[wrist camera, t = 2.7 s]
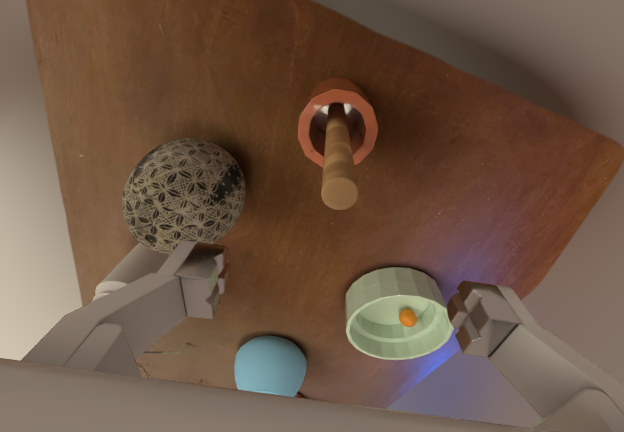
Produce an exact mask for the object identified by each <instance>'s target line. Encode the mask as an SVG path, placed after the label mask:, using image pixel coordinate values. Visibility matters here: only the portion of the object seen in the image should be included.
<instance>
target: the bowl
mask: <svg viewBox="0 0 624 432" xmlns="http://www.w3.org/2000/svg"><path fill="white" fill-rule="evenodd" d="M447 307H448V306H447V304H446V301H445V299H444V297H443V294H442V292H441V290H440V288H439V286H438V285H437V283H436V281H435V280H433V279H432V278H431V277H429V276H428V275H426V274H425V273H423V272H420V271H417V270H414V269H411V268H400V267H391V268H385V269H378V270H375V271H373V272H370V273H368V274H365V275H363V276H362V277H360V278H359V279H358V280H357V281H355V282H354V283H353V284H352V285H351V287H350V288H349V290H348V291H347V293H346V298H345V322H346V333H347V336H348V339H349V341H350V342H351V343H352V345H353V346H354V347H355V348H356V349H358V350H359V351H361V352H363V353H365V354H367V355H369V356H373V357H377V358H380V359H389V360H403V359H413V358H416V357H420V356H423V355H426V354H429V353H431V352H433V351H435V350H436V349H438V348H440V347H441V346H442V345H443V344H444V343H445V342H447V341H448V339H449V338H450V336H451V334H452V332H453V325H452V324H451V323H450V321H449V318H448V313H447ZM403 309H411V310H412V311H414V312H415V314H416V316H417V322H416V324H415V325H414V326H412V327H405V326H404V325H402V324H401V323H400V321H399V313H400V312H401V311H402V310H403Z"/></svg>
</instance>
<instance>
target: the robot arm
mask: <svg viewBox="0 0 624 432" xmlns="http://www.w3.org/2000/svg"><path fill="white" fill-rule="evenodd" d="M228 258H229V248H228V247H226V246H220V245H214V244H208V243H202V242H194V241H188V240H183V241H181V242H180V243H179V244H178V245H177V247H176V248H175V249H174V251H173V252H172V253H171V255H170V256H169V257H168V259H167V260H166V261H165V263H164V264H163V265H162V266H161V268H160V269H159V270H158V272H157V273H150V274H148V275H146V276H144V277H142V278H140V279H138V280H136V281H134V282H132V283H130V284H128V285H126V286H124V287H122V288H120V289H118V290H116V291H114V292H112V293H109V294H107V295H105V296H103V297H101V298H99V299H97V300H95V301H93V302H91V303H89V304H87V305H85V306H83V307H81V308H79V309H77V310H75V311H73V312H71V313H69V314H67V315H65V316H64V317H63V318H62V319H61V320H60V321H59V322H58V323H57V324H56V325H55V326H54V327H53V328H52V329H51V330H50V331H49V332H48V333H47V334H46V335H45V337H43V338H42V339H41V340H40V342H38V344H37V345H36V346H35V347H34V348H33V349H32V350H31V351H30V352H29V353H28V354H27V355H26V356H25V357H24V358H23V359H22V360H21V361H18V360H11V359H2V358H0V432H624V385H623V384H622V383H621V382H620V381H618V380H617V379H615V378H614V377H612V376H611V375H610V374H608V373H607V372H606V371H604V370H603V369H601V368H600V367H599V366H597V365H596V364H594V363H593V362H592V361H590V360H589V359H587V358H586V357H585V356H583V355H582V354H581V353H579V352H578V351H576V350H575V349H574V348H572V347H571V346H569V345H568V344H567V343H565V342H564V341H562V340H561V339H560V338H558V337H557V336H556V335H554V334H553V333H551V332H550V331H548V330H547V329H546V328H542V327H540V326H539V325H538V323H537V322H536V321H535V319H534V318H533V317H532V315H531V314H530V312H529V311H528V310H527V308H526V307H525V306H524V304H523V303H522V302H521V300H520V299H519V297H518V296H517V295H516V293H515V292H514V291H513V289H511V288H510V287H508V286H502V285H494V284H493V285H491V284H485V283H478V282H470V281H463V282H461V283H460V284H459V286H458V287H457V290H458V294H456V295H454V296H452V297H451V299H450V301H449V302H448V307H447V313H448V318H449V321H450V323H451V324H452V325H453V326H454V327H455V328H456V329H457V333H456V337H457V340H458V342H459V345H460V347H461V349H462V351H463V354H467V355H474V356H480V357H486V358H489V360H490V361H491V363H492V364H493V365H494V366H495V367H496V368H497V369H498V370H499V371H500V372H501V374H502V375H503V376H504V377H505V378H506V379H507V380H508V381H509V382H510V383H511V384H512V386H513V387H514V388H515V389H516V390H517V391H518V392H519V393H520V394H521V395H522V396H523V398H524V399H525V400H526V401H527V402H528V403H529V404H530V405H531V406H532V407H533V409H534V410H535V411H536V412H537V413H538V414H539V415H540V416H541V417H542V418H543V419H542V420H541V421H539V422H538V423H536V424H535V425H534V426H533V428H524V427H517V426H509V425H502V424H494V423H486V422H479V421H472V420H464V419H456V418H449V417H441V416H434V415H426V414H419V413H411V412H404V411H396V410H388V409H381V408H374V407H366V406H358V405H351V404H343V403H335V402H328V401H320V400H313V399H305V398H297V397H290V396H282V395H275V394H267V393H260V392H252V391H244V390H237V389H229V388H222V387H214V386H207V385H199V384H191V383H184V382H176V381H169V380H161V379H154V378H146V377H141V374H140V371H139V369H138V366H137V364H136V361H135V359H136V358H138V357H139V356H140V355H141V354H143V353H144V352H145V351H146V350H148V349H149V348H150V347H151V346H152V345H154V344H155V343H156V342H157V341H159V340H160V339H161V338H162V337H164V336H165V335H166V334H167V333H168V332H170V331H171V330H172V329H173V328H175V327H176V326H177V325H178V324H180V323H181V322H182V321H183V320H185V319H186V316H187V317H196V318H205V319H213V318H214V315H215V313H216V311H217V308H218V306H219V304H220V295H221V294H222V293H224V292H225V290H226V287H227V284H228V280H229V276H230V265H229V264H228V263H227V260H228Z"/></svg>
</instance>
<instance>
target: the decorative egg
mask: <svg viewBox="0 0 624 432" xmlns="http://www.w3.org/2000/svg"><path fill="white" fill-rule="evenodd" d="M245 196H246V186H245V180H244V176H243V173H242V171H241V168H240V167H239V165H238V163H237V162H236V160H235V159H234V158H233V157H232V156H231V155H230V154H229V153H228V152H227V151H226V150H224V149H223V148H221V147H220V146H218V145H216V144H214V143H211V142H209V141H205V140H201V139H193V138H190V139H178V140H174V141H170V142H168V143H165V144H163V145H161V146H159V147H157V148H155V149H154V150H152V151H151V152H149V153H148V154H147V155H146V156H145V157H144V158H143V159H142V160H141V161H140V162H139V163H138V164H137V165H136V167H135V168H134V170H133V171H132V173H131V174H130V176H129V178H128V180H127V182H126V185H125V188H124V192H123V199H122V207H123V214H124V218H125V221H126V224H127V226H128V228H129V230H130V231H131V233H132V234H133V235H134V237H135V238H136V239H137V240H138V241H139V242H140V243H141V244H143V245H144V246H146V247H148V248H149V249H152V250H154V251H157V252H160V253H165V254H171V253H172V252H173V251H174V249H175V248H176V247H177V245H178V244H179V243H180V242H181V241H183V240H188V241H194V242H202V243H208V244H214V243H215V242H217V241H218V240H219V239H221V238H222V237H223V236H224V235H225V234H226V233H227V232H228V231H229V230H230V229H231V228H232V227H233V225H234V224H235V223H236V221H237V219H238V218H239V216H240V214H241V211H242V209H243V206H244V203H245Z"/></svg>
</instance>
